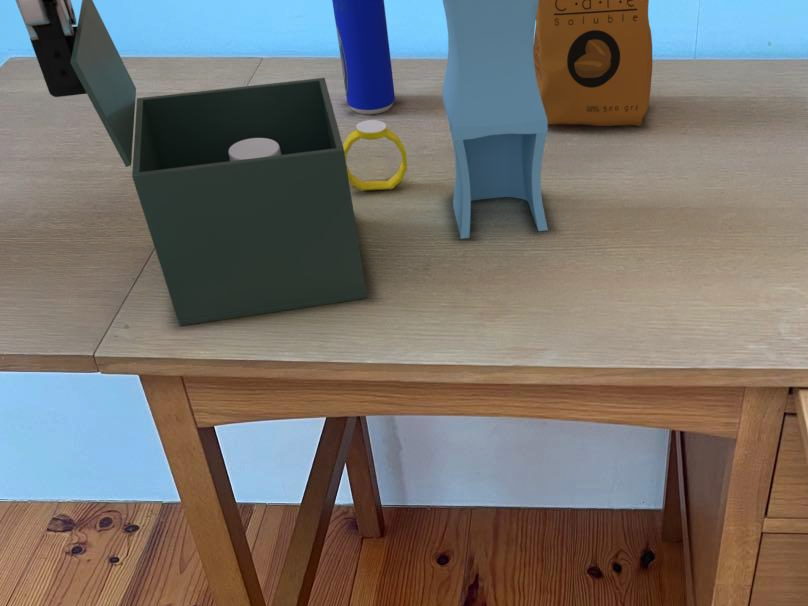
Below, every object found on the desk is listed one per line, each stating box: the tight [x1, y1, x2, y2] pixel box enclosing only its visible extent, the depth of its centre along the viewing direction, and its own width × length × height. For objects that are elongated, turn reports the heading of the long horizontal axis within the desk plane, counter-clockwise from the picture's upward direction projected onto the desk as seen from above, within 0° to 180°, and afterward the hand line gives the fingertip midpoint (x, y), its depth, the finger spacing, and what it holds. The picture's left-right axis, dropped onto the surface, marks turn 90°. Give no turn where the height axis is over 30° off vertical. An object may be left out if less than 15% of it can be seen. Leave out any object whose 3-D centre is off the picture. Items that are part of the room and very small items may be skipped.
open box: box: [131, 77, 368, 327], centre depth 81 cm, size 15×14×12 cm
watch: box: [342, 119, 408, 192], centre depth 94 cm, size 6×3×6 cm, turn 101°
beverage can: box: [331, 0, 396, 115], centre depth 104 cm, size 5×5×15 cm
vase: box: [441, 0, 549, 240], centre depth 85 cm, size 8×8×20 cm
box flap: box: [71, 0, 137, 168], centre depth 73 cm, size 7×14×1 cm
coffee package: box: [533, 0, 654, 127], centre depth 99 cm, size 10×12×22 cm
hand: (75, 90), depth 73 cm, fingers closed
